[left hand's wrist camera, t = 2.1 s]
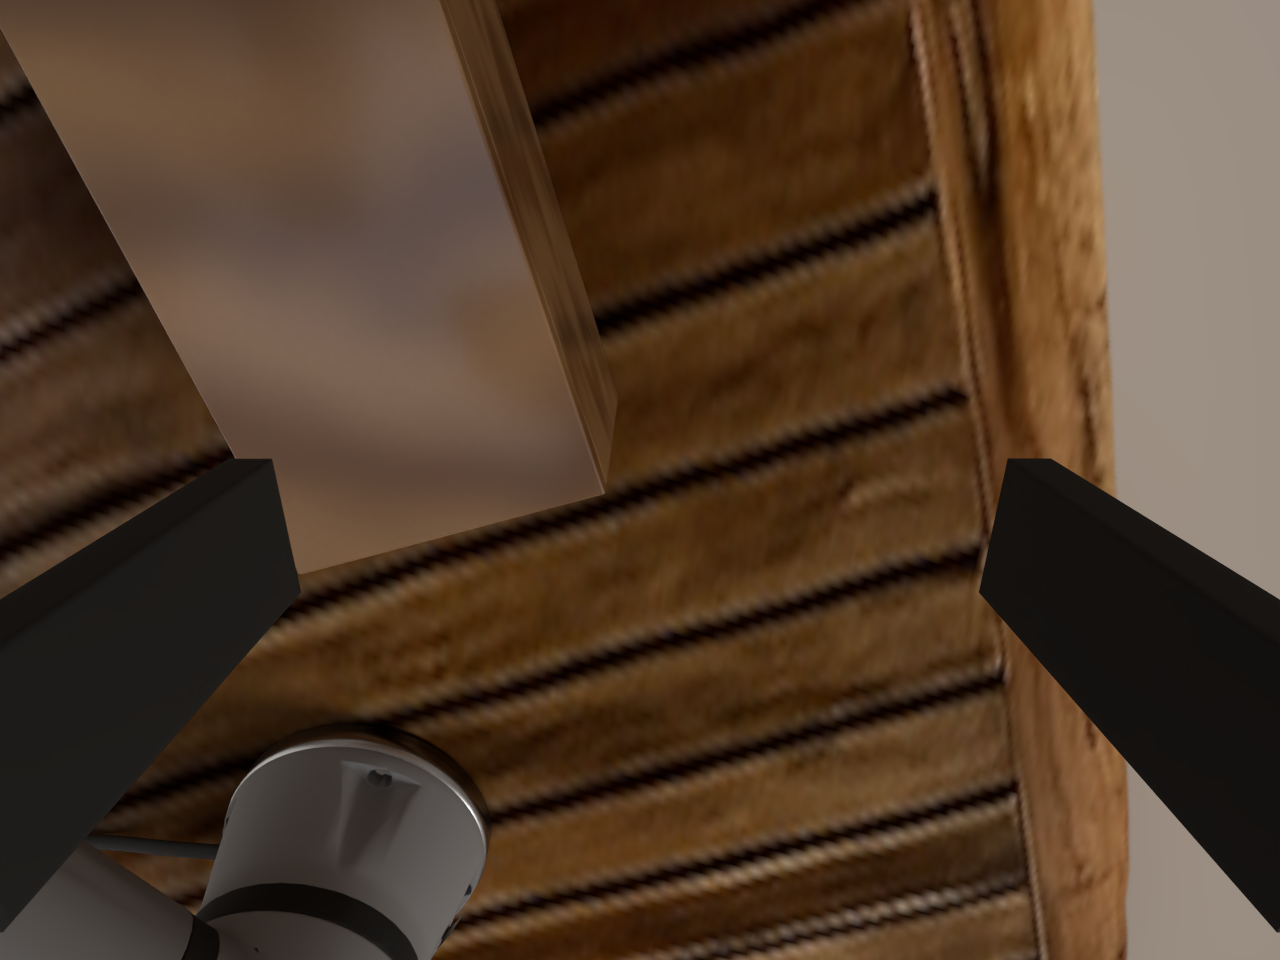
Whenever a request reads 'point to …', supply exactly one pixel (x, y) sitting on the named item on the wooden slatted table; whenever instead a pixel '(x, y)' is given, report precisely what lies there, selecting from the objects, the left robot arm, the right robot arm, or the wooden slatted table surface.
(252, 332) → the cabinet
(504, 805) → the wooden slatted table surface
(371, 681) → the wooden slatted table surface
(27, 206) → the wooden slatted table surface
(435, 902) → the left robot arm
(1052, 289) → the wooden slatted table surface
